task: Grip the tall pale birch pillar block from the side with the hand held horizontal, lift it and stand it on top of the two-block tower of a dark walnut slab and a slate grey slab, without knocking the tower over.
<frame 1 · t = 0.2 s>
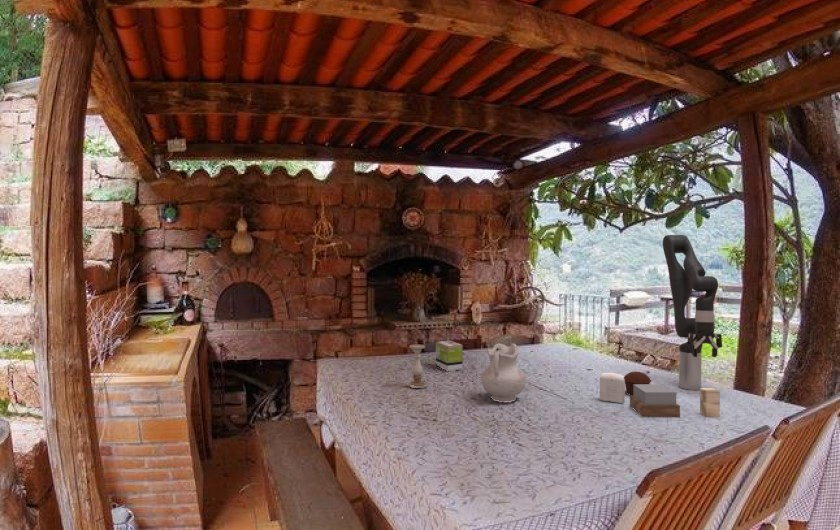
hand: (704, 356, 223), 18 cm above the table, tool pointing down, fingers open, 8 cm apart
muffin: (637, 394, 227), on the table
candle holder: (417, 387, 243), on the table
slate top block: (654, 400, 202), point 5 cm above the table, touching walnut base block
walnut base block: (654, 412, 202), on the table, touching slate top block
tea box: (449, 369, 281), on the table
ceramic pitcher: (503, 400, 220), on the table
photo printer: (612, 401, 216), on the table
birch pillar block: (709, 414, 197), on the table
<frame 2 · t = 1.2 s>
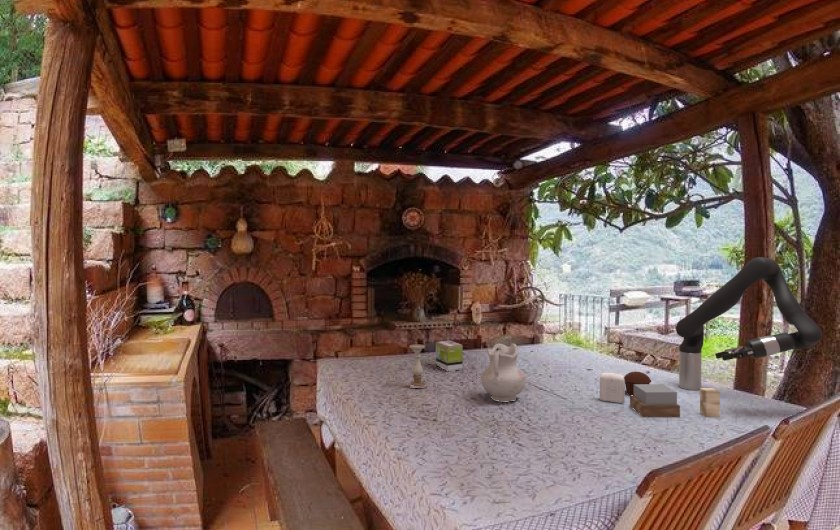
hand: (719, 357, 201), 22 cm above the table, tool tilted 75°, fingers open, 8 cm apart
nothing on the table moved.
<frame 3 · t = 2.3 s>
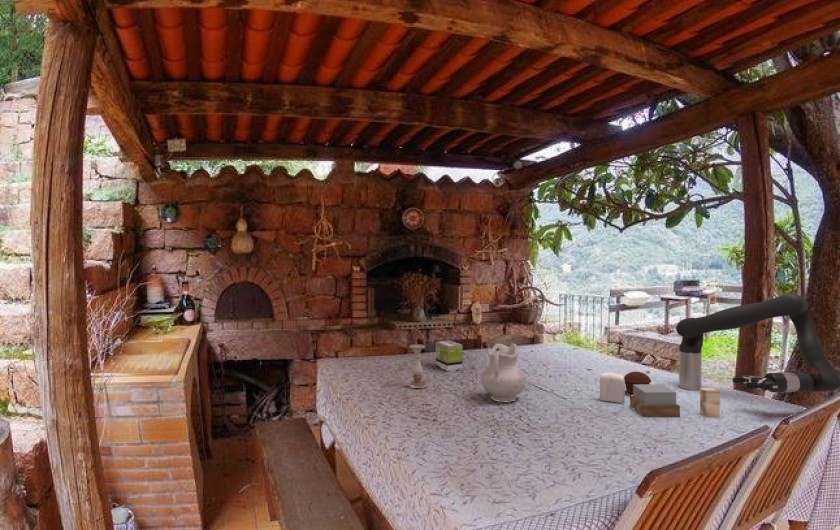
hand: (739, 382, 196), 13 cm above the table, tool horizontal, fingers open, 8 cm apart
nothing on the table moved.
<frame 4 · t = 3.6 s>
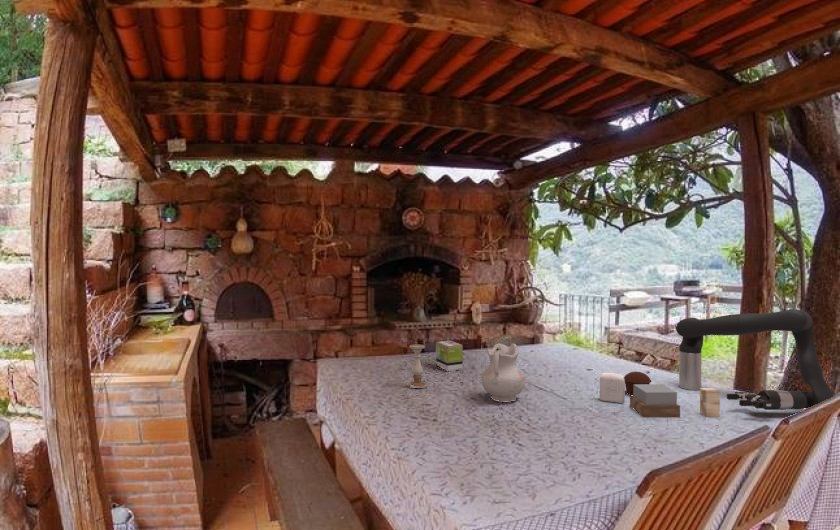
hand: (733, 399, 197), 6 cm above the table, tool horizontal, fingers open, 8 cm apart
nothing on the table moved.
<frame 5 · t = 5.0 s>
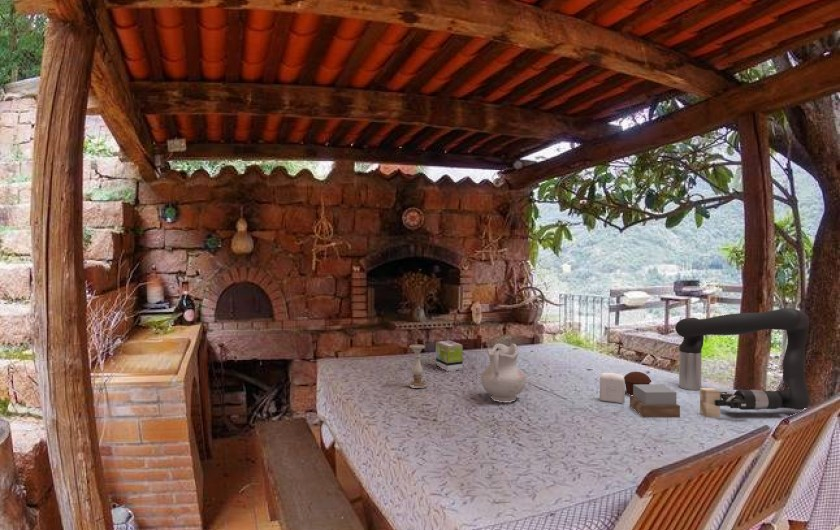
hand: (709, 399, 197), 6 cm above the table, tool horizontal, fingers open, 8 cm apart
nothing on the table moved.
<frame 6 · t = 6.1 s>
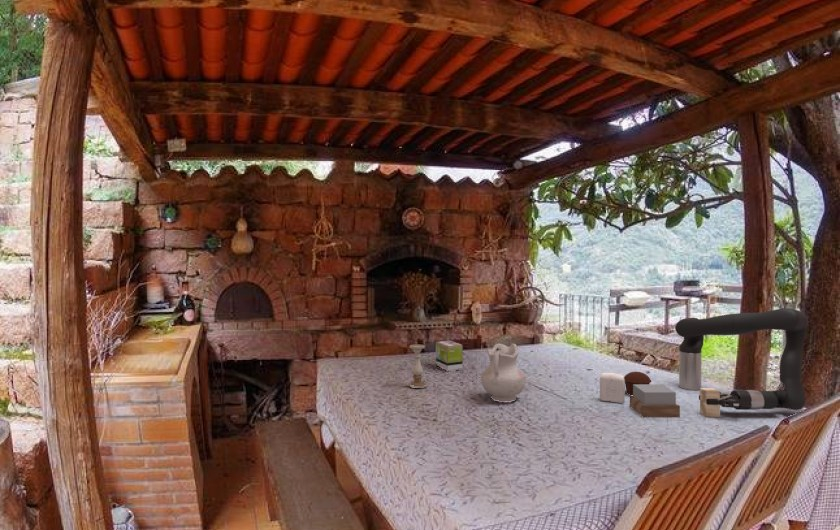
hand: (703, 399, 197), 6 cm above the table, tool horizontal, fingers closed on birch pillar block, 5 cm apart
birch pillar block: (709, 414, 197), on the table, touching gripper
everything else where it was.
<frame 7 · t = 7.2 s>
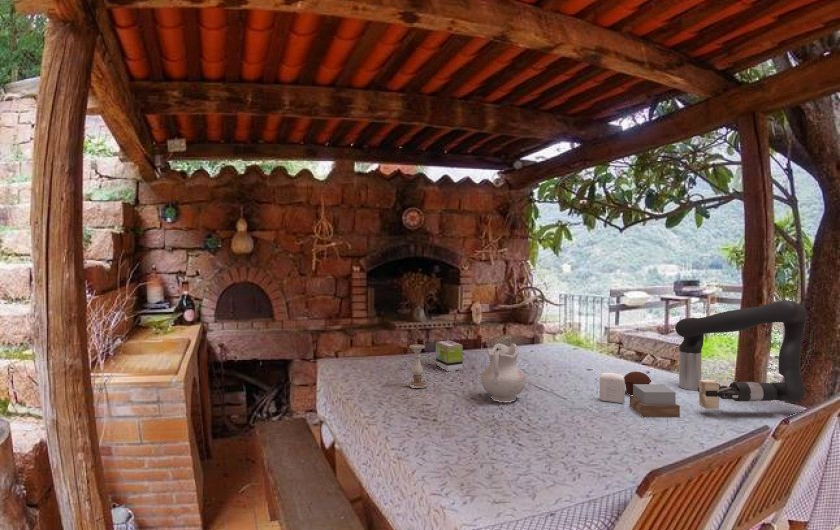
hand: (702, 391, 197), 9 cm above the table, tool horizontal, fingers closed on birch pillar block, 5 cm apart
birch pillar block: (708, 406, 197), point 3 cm above the table, touching gripper
everything else where it was.
when the fingers open (17 cm above the table, at t = 12.5 s): birch pillar block drops 2 cm, resting on slate top block.
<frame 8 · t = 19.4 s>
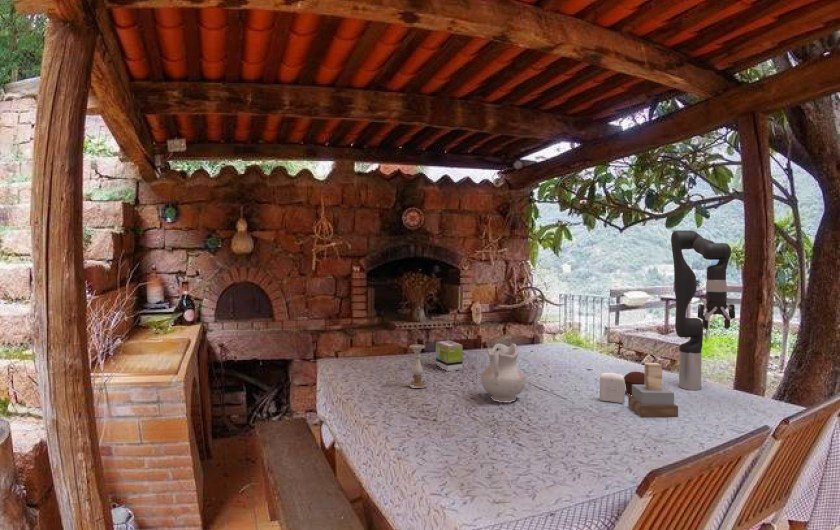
hand: (716, 328, 210), 32 cm above the table, tool pointing down, fingers open, 8 cm apart
slate top block: (652, 400, 202), point 4 cm above the table, touching birch pillar block, walnut base block
birch pillar block: (653, 388, 201), point 9 cm above the table, touching slate top block
everything else where it was.
at the end: birch pillar block 0.4 cm off-centre on the slate top block, point 5.0 cm above the slate top block's base; birch pillar block tilted 0°; slate top block 0.1 cm off-centre on the walnut base block, point 5.0 cm above the walnut base block's base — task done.
